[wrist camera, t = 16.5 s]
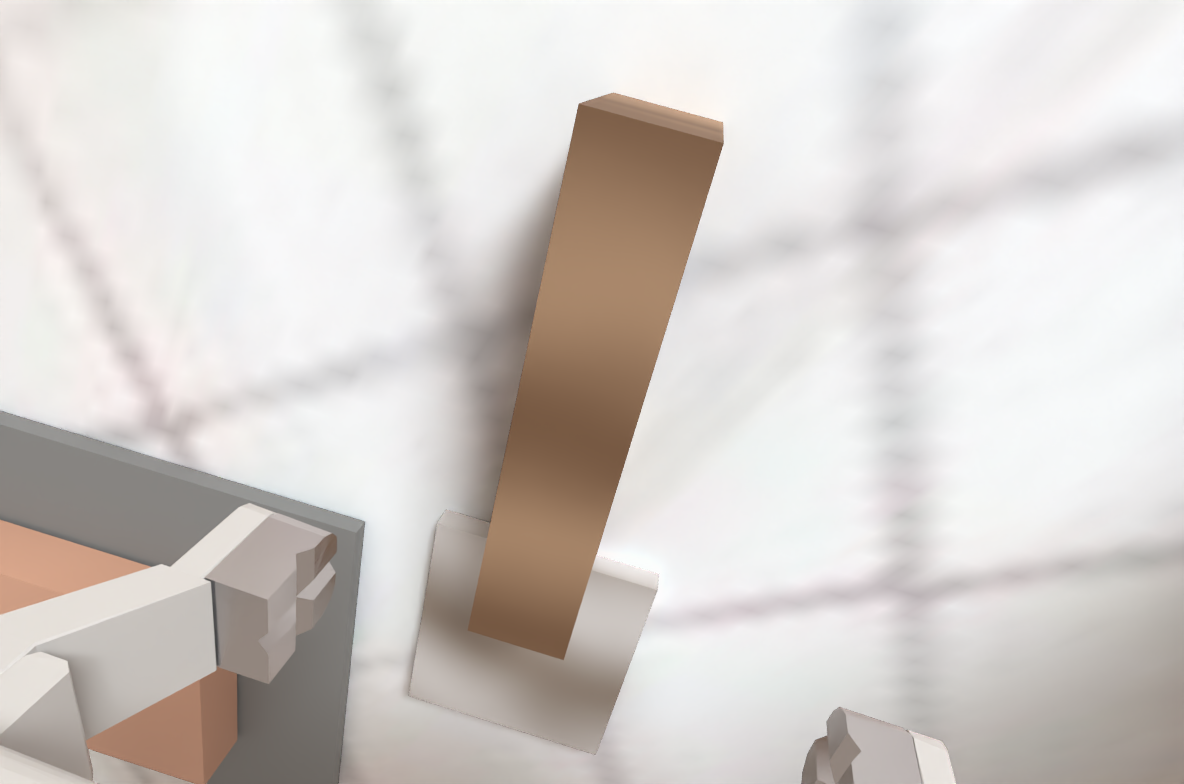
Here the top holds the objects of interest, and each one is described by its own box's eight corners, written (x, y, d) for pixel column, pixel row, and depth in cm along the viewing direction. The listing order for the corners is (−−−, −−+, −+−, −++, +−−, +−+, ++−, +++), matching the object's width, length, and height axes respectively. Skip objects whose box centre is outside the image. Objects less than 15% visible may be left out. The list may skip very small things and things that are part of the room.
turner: (522, 67, 16) (458, 70, 12) (816, 147, 16) (847, 177, 12) (417, 678, 26) (362, 789, 22) (599, 735, 25) (577, 859, 21)
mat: (365, 521, 23) (356, 533, 22) (335, 809, 30) (328, 823, 29) (-138, 368, 24) (-159, 375, 23) (-48, 685, 31) (-62, 696, 30)
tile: (197, 636, 22) (204, 786, 26) (239, 590, 24) (239, 736, 28) (-88, 546, 23) (-42, 706, 26) (-26, 508, 25) (9, 662, 28)
